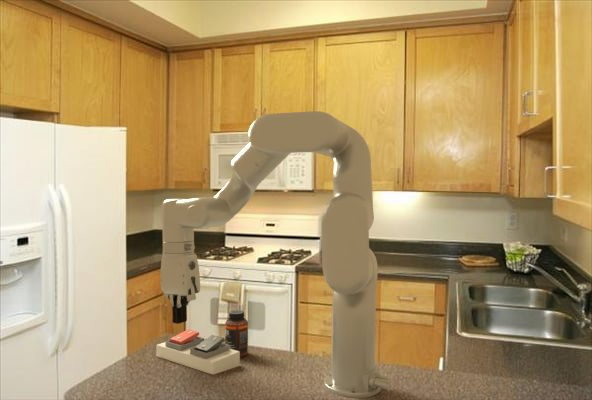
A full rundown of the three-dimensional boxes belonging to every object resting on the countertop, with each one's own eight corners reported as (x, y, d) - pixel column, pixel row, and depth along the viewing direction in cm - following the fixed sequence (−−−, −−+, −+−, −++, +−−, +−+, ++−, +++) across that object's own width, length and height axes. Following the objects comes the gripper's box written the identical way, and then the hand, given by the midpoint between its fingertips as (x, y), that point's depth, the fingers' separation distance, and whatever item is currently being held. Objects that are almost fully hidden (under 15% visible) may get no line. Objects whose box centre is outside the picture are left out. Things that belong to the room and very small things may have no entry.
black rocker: (225, 345, 113) (223, 337, 112) (208, 358, 108) (206, 350, 108) (213, 342, 115) (212, 334, 115) (196, 355, 110) (194, 346, 110)
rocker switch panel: (239, 367, 112) (239, 346, 112) (212, 379, 105) (212, 357, 105) (183, 350, 124) (184, 331, 123) (156, 360, 116) (156, 340, 116)
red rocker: (199, 339, 118) (198, 331, 118) (181, 349, 113) (180, 341, 113) (189, 336, 120) (188, 328, 120) (170, 346, 115) (169, 338, 115)
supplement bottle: (251, 351, 123) (251, 309, 123) (242, 359, 118) (243, 315, 117) (230, 349, 125) (231, 308, 125) (221, 357, 119) (221, 313, 119)
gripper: (210, 248, 113) (212, 323, 113) (170, 245, 122) (171, 314, 122) (187, 251, 107) (188, 330, 107) (146, 248, 115) (148, 321, 116)
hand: (179, 322), depth 114 cm, fingers closed
